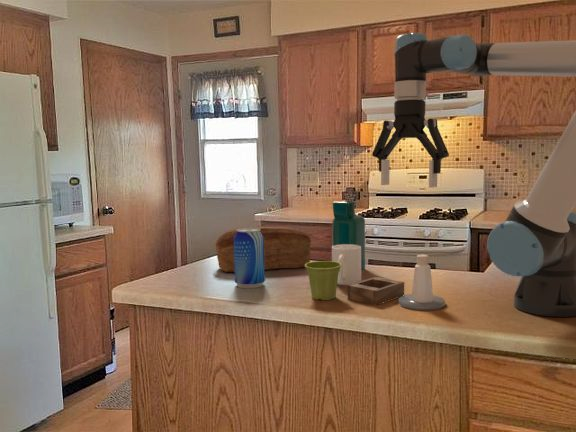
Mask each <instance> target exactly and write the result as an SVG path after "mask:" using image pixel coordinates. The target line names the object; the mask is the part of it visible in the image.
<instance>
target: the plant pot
mask: <svg viewBox="0 0 576 432" xmlns="http://www.w3.org/2000/svg"><path fill="white" fill-rule="evenodd" d="M341 266H342V264H341V263H339V262H334V261H332V260H316V261H315V260H314V261H310V262H309V263H306V264H305V266H304V268H305V269H306V272H307V274H308V281H309V287H310V294H311V298H312V299H314V300H321V301H329V300H333V299H335V298H336V296H337V287H338V284H337V281H338V273H339V271H340V267H341Z"/></svg>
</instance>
